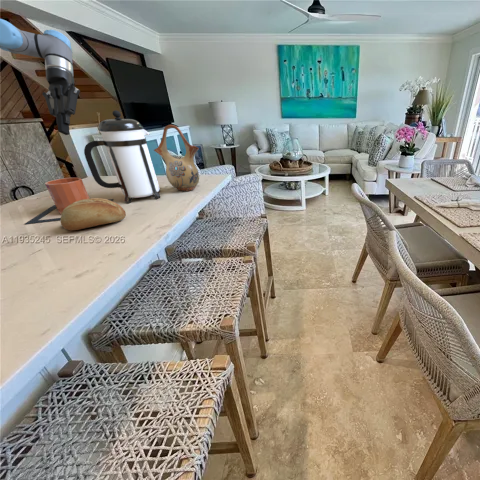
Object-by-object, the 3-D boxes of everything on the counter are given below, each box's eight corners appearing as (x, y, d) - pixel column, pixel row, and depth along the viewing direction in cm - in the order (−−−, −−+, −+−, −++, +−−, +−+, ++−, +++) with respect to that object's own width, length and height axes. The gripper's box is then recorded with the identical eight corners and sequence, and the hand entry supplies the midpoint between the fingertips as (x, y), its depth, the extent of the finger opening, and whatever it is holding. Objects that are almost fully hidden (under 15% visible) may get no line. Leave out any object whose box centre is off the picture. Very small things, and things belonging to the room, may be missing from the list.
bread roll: (128, 224, 78) (119, 198, 74) (62, 238, 70) (48, 210, 67) (127, 214, 85) (118, 190, 81) (66, 226, 77) (53, 200, 74)
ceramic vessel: (209, 186, 114) (196, 123, 103) (204, 192, 107) (190, 124, 95) (169, 188, 112) (152, 124, 101) (161, 194, 104) (141, 125, 93)
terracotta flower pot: (54, 216, 84) (39, 185, 80) (66, 207, 92) (53, 179, 87) (87, 212, 87) (74, 182, 82) (97, 204, 94) (85, 176, 90)
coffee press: (145, 189, 110) (119, 110, 96) (174, 193, 105) (151, 109, 91) (102, 202, 96) (64, 111, 82) (133, 207, 91) (99, 110, 77)
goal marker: (24, 224, 79) (24, 223, 79) (54, 205, 94) (53, 204, 94) (96, 216, 84) (96, 215, 84) (113, 199, 99) (113, 198, 99)
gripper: (85, 77, 102) (90, 134, 100) (55, 84, 103) (58, 141, 101) (65, 62, 95) (69, 124, 92) (32, 70, 96) (36, 131, 93)
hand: (63, 132), depth 97 cm, fingers closed
